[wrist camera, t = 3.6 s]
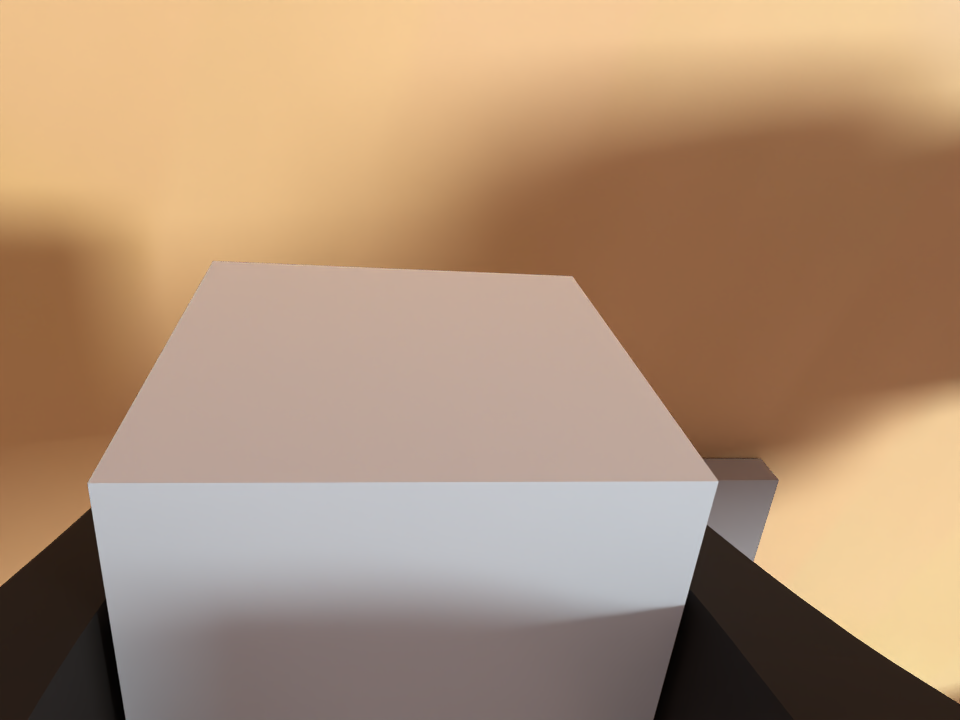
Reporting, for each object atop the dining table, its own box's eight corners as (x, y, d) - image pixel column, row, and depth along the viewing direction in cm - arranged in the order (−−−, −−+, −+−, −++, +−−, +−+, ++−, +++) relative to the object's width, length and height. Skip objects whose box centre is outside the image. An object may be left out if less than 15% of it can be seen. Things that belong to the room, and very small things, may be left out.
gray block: (760, 458, 20) (778, 480, 19) (661, 795, 26) (671, 824, 25) (505, 458, 19) (512, 481, 18) (462, 810, 25) (466, 841, 24)
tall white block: (572, 276, 10) (718, 480, 6) (523, 603, 12) (600, 911, 8) (213, 261, 9) (87, 482, 5) (235, 611, 11) (164, 953, 7)
